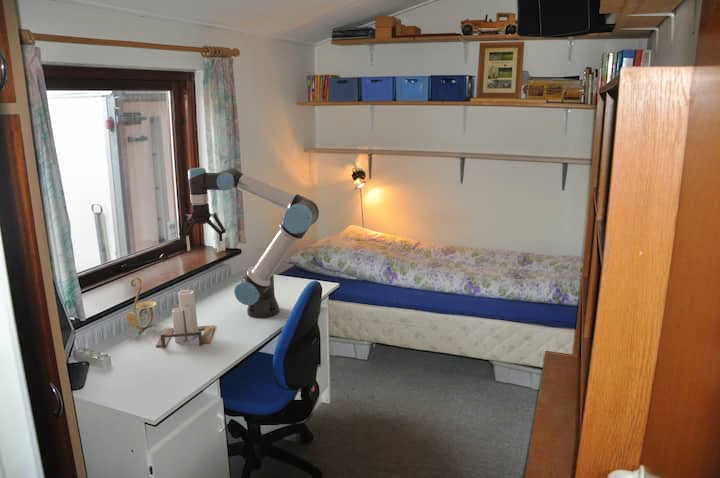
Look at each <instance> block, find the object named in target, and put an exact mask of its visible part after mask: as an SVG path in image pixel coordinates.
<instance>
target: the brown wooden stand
mask: <svg viewBox="0 0 720 478" xmlns="http://www.w3.org/2000/svg"><path fill="white" fill-rule="evenodd" d="M197 326H198V325H197ZM215 330H216V325H199V326H198V332H197V333H181V334H174V327H168V328H164V329H163V332H162V333H161V334H160V337H159V339H158V340H157V342H156V344H155V347H156V348H161V349H166V347H167V346H168V343H169V341H170V339H171V338H175V337H180V336H195V335H198V336H197V337H198V346H199V347H201V346H202V347H203V345H210V343H211V341H212V337H213V335H214V331H215ZM202 331H203V333H202Z"/></svg>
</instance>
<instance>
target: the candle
mask: <svg viewBox="0 0 720 478" xmlns="http://www.w3.org/2000/svg"><path fill="white" fill-rule="evenodd" d="M177 293H178V294H177V295H178V304H179V307H175V308H173V309H172V310H171V316H172V324H173V326H172V327H173V328H174V332H173V334H181V333H197V332H198V316H197V307H196V299H195V298H196V297H195V290H193V289H183V290H180V291H179V292H177ZM196 337H198V335H195V336H180V337H174V342H175V343H176V344H177V343H178V344H179V343H183V342H185V341H189V342H190V341H193V340H194V338H196Z"/></svg>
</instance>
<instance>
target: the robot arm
mask: <svg viewBox="0 0 720 478" xmlns="http://www.w3.org/2000/svg"><path fill="white" fill-rule="evenodd" d="M187 175H188V176H187V177H188V179H187V180H188V186H189V196H190V197H189V198H190V203H191V206H190V207H191V214H188V213H186V214H185V215H184V221H183V223H182V226H181V228H180V230H179V233H178V235H179V236H181V237H183V242H184V244H186V249H187V252H190V251H191V244H190V235H188V234H189V233H190V231H192V229H193V228H194V227H195V225H196V224H197V225H206V224H207V225H209V226H210V227H211V229H213V231H215V232H216V233H217V248H218V250H221V245H222V244H221V242H223V241H224V240H223V234H225V233H226V231H227V229H226V228H225V226H224V224H223V223H222V222H221V220H220V218H219V216H218V213H217V212H214V213H211V212H210V204H209V195H208V194H209V193H208V191H231V190H232V189H233V188H234V189H237V190H239V191H241V192H244V193H245V194H249V195H251V196H253V197H255V198H257V199H260V200H262V201H263V202H264V201H265V202H266V203H270V205H273V206H276V207H278V208H280V209H283V210H285V212H284V214H283V216H282V219H281V221H280V222H279V230H278V232H276V234H275V236H274V237H273V239H272V240H271V241H270V242H269V245H268V246H267V247H266V249H265V251H264V252H263V253H262V255H261V256H260V257H259V259H258V261H257V262H256V264H255V265H252V266H250V267H248V268H247V271H246V272H245V274H244V276H243V277H242V279H241V280H240V281H238V283H236V285H235V287H234V289H233V292H234V296H235V298H236V300H237V301H238V303H241V304H242V305H245V306H247V307H246V308H247V309H246V310H247V315H248V316H249V317H252V318H255V319H256V318H257V319H264V318H265V319H266V318H270V317H273V316H275V315H278V313H280V306H279V303H278V301H277V298H276V294H275V278H274V274H275V272H276V270H277V269H278V267H279V266H280V264H281V263H282V261H283V260H284V259H285V257H286V256H287V255H288V253H289V252H290V250H291V248H292V247H293V246H294V244H295V243H296V241H297V240H302V239H303V237H304V236H305V234H307V232H308V230H309V229H310V227H312V225H314V224H315V223H316V222H317V220H318V219H319V216H320V209H319V206H318V205H317V204H316V203H315V202H314V201H313V200H311V199H310V198H307V197H304V196H302V195H300V194H297V193H295V194H292V193H289V192H287V191H284V190H283V189H281V188H278V187H276V186H273V185H271V184H268V183H266V182H263V181H261V180H258V179H256V178H254V177H251V176H249V175H247V174H244V173H243V172H242V170H240V169H239V168H236V167H231V168H228V169H225V170H222V171H219V172H207V171H206V168H204V167H193V168H189V169H188V171H187ZM210 218H213V219H214V221H215V222H216V224H217V225H218V226H217V225H216V224H215V223H213V222H212V220H211V219H210ZM190 219H192V220H193V222H192V223H191V224H190V225H189V227H188V228H187V230H186V231H185V229H186V226H187V223H188V221H189V220H190ZM184 231H185V232H184Z"/></svg>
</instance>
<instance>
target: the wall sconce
mask: <svg viewBox="0 0 720 478" xmlns="http://www.w3.org/2000/svg"><path fill="white" fill-rule="evenodd" d="M135 280H138V282H139V287H138V290H137V293H136V296H135V299H134V303H133V310H132V312H128V313H127V314H126V315H125V322H126V323H127V325H128V326H129V327H132V328H135V327H136V329H138V330H144V329H146V328H148V327H149V326H150V325H151V323H152V321H153V318H154V312H153V311H154V310H153V309H152V308H153V307H155V306H156V305H157V301H156V302H155V301H154V300H153V301H152V300H144V301H140V302H138V301H139V298H140V293H141V290H142V287H143V286H142V285H143V282H142V279H141V278H140V277H138V276H135V277H133V278H132V279H131V281H130V286H131V287H133V288H134V287H136V286H137V283H134V281H135ZM148 309H149V311H150V318H149V321H148V323H147V324H145V325H144V326H139V323H140V321H139V318H140V320H143V319H145V318H146V316H145V315H147V314H148ZM136 310H140V311H139V313H138V315H139V317H138V316H137V314H136ZM142 313H144V315H143V316H142Z"/></svg>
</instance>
